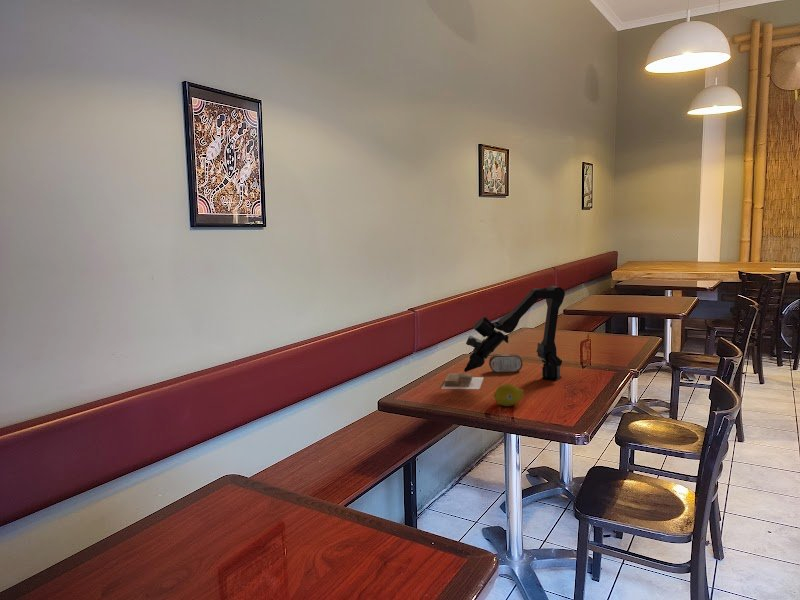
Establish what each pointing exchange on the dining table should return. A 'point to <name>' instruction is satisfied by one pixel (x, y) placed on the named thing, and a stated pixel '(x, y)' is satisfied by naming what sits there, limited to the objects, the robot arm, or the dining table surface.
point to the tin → (505, 363)
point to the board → (458, 380)
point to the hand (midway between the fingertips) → (465, 368)
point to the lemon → (508, 395)
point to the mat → (474, 384)
